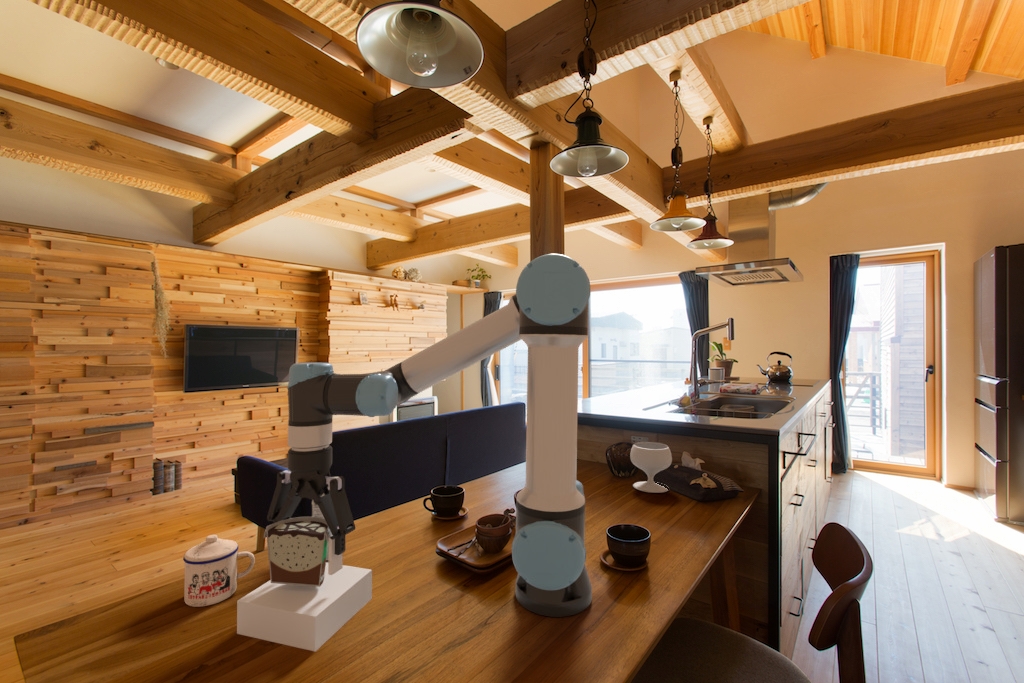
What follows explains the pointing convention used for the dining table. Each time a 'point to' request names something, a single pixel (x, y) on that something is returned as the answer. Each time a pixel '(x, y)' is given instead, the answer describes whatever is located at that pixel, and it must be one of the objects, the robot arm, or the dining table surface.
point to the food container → (298, 550)
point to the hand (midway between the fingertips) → (309, 565)
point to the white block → (304, 608)
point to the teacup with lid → (212, 571)
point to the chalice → (650, 463)
